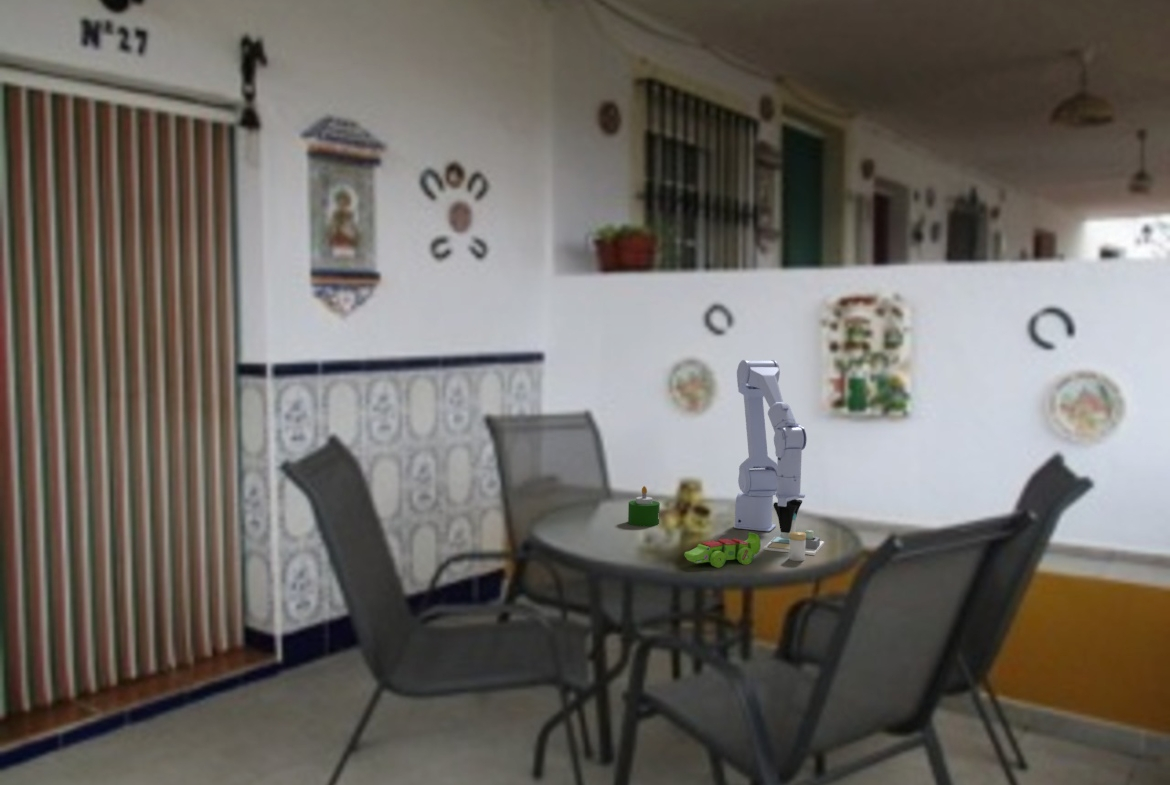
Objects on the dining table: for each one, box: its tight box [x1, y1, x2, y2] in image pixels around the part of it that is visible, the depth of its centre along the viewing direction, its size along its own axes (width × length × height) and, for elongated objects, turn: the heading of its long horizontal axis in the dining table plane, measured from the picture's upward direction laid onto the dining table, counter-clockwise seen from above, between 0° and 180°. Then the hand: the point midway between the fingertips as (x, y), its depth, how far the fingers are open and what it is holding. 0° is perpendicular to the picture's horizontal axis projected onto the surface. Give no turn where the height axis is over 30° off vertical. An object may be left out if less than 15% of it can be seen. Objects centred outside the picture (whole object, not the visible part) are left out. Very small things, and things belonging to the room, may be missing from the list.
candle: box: [627, 485, 661, 527], centre depth 265 cm, size 8×8×10 cm
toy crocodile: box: [683, 531, 761, 569], centre depth 224 cm, size 20×7×6 cm, turn 117°
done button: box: [804, 529, 814, 540], centre depth 238 cm, size 2×2×2 cm
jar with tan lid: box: [788, 531, 806, 562], centre depth 229 cm, size 4×4×6 cm
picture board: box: [763, 535, 825, 556], centre depth 241 cm, size 12×13×3 cm
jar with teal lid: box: [779, 513, 797, 539], centre depth 244 cm, size 4×4×6 cm
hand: (787, 530), depth 244 cm, fingers closed on jar with teal lid, 3 cm apart
